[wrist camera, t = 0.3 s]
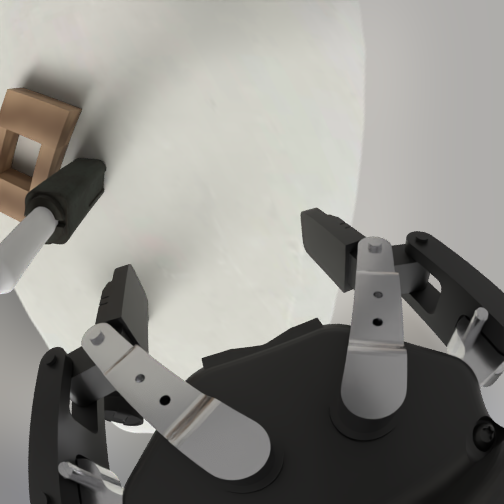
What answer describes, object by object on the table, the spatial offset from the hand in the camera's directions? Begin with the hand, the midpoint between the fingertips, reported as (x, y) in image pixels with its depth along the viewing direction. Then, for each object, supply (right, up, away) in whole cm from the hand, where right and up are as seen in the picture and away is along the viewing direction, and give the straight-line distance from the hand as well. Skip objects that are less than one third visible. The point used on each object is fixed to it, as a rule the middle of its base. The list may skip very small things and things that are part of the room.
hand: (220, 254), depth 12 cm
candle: (-20, +10, +18) cm, 28 cm away
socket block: (-28, +13, +13) cm, 34 cm away
